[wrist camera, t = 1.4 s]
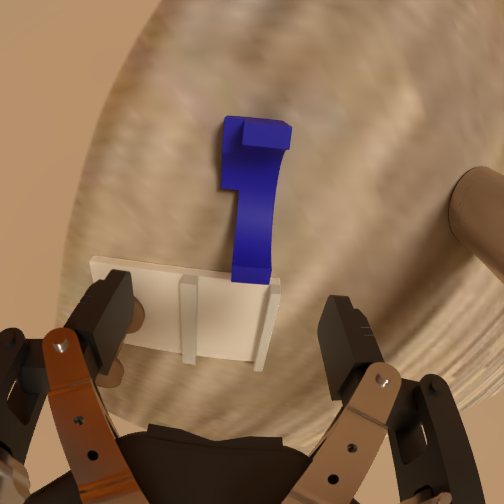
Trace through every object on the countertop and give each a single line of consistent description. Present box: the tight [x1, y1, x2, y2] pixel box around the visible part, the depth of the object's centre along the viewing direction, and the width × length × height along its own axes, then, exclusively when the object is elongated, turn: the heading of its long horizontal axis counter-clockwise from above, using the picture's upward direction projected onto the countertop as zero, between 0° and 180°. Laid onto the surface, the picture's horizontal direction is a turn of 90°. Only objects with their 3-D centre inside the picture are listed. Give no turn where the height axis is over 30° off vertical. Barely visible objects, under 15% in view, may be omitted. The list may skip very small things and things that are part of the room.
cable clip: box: [221, 116, 292, 285], centre depth 23 cm, size 12×4×6 cm, turn 174°
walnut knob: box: [95, 296, 145, 388], centre depth 27 cm, size 6×6×9 cm
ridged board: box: [89, 255, 282, 372], centre depth 31 cm, size 20×12×3 cm, turn 82°
